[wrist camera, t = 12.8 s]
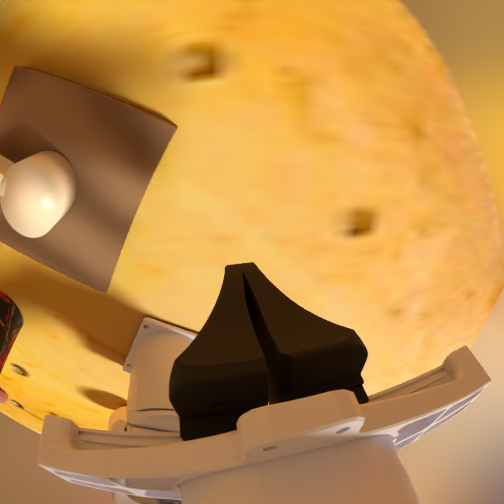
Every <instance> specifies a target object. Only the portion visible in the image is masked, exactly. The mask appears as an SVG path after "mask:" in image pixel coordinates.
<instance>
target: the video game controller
mask: <svg viewBox="0 0 504 504" xmlns="http://www.w3.org/2000/svg"><path fill="white" fill-rule="evenodd" d="M7 399H8V396H7V394H6V393H5V392H4V391H2V390H0V403H5V402H6V401H7Z"/></svg>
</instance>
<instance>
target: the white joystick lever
mask: <svg viewBox="0 0 504 504" xmlns="http://www.w3.org/2000/svg"><path fill="white" fill-rule="evenodd" d="M76 190H77V185H76V178H75V174H74V171H73V169H72V167H71V165H70V164H69V162H68V161H67V160H66V159H65V158H64V157H63V156H62V155H60V154H59V153H57V152H54V151H41V152H39V153H36V154H34V155H32V156H30V157H28V158H26V159H23V160H21V161H19V162H17V163H13V162H12V161H10V160H8V159H7V158H5V157H4V156H2V155H0V204H1V208H2V211H3V214H4V216H5V218H6V220H7V221H8V223H9V224H10V225H11V227H12V228H13V229H14V230H15V231H17V232H18V233H20V234H21V235H23V236H26V237H30V238H37V237H41V236H43V235H45V234H46V233H47V232H49V231H50V229H51V228H52V227H53V226H54V225H55V224H56V223H57V222H58V221H59V220H60V219H61V218H62V217H63V216H64V215H65V214H66V213H67V212H68V211H69V209H70V208H71V206H72V205H73V203H74V200H75V197H76Z"/></svg>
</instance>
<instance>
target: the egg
mask: <svg viewBox="0 0 504 504" xmlns="http://www.w3.org/2000/svg"><path fill="white" fill-rule="evenodd" d="M126 409H127V406H123V407H120V408H118V409H116V410H115V411H114V412H113V413H112V414H111V416H110V419H109V431H111V426H112V424H113V423H115V422H117V420H118V419H121V420H124V421H125V424H126V419H127V417H126Z"/></svg>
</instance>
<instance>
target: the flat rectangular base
mask: <svg viewBox="0 0 504 504" xmlns="http://www.w3.org/2000/svg"><path fill="white" fill-rule="evenodd" d="M177 127H178V126H176V125H174V124H172V123H170V122H168V121H166V120H163V119H161V118H159V117H157V116H155V115H153V114H150V113H148V112H146V111H144V110H141V109H139V108H137V107H134V106H132V105H130V104H127V103H125V102H123V101H120V100H118V99H115V98H113V97H111V96H108V95H106V94H103V93H100V92H98V91H95V90H93V89H90V88H87V87H85V86H82V85H79V84H77V83H74V82H71V81H68V80H65V79H62V78H59V77H56V76H53V75H50V74H47V73H44V72H41V71H38V70H34V69H31V68H28V67H18V66H15V68H14V70H13V73H12V75H11V78H10V80H9V83H8V86H7V89H6V91H5V94H4V97H3V100H2V103H1V107H0V155H2V156H4V157H5V158H7V159H8V160H10V161H12V162H13V163H17V162H19V161H21V160H23V159H26V158H28V157H30V156H32V155H34V154H36V153H39V152H41V151H54V152H57V153H59V154H60V155H62V156H63V157H64V158H65V159H66V160H67V161H68V162H69V164H70V165H71V167H72V169H73V171H74V174H75V178H76V185H77V190H76V197H75V200H74V203H73V205H72V206H71V208H70V209H69V211H68V212H67V213H66V214H65V215H64V216H63V217H62V218H61V219H60V220H59V221H58V222H57V223H56V224H55V225H54V226H53V227H52V228H51V229H50V231H49V232H47V233H46V234H45V235H43V236H41V237H37V238H30V237H26V236H23V235H21V234H20V233H18V232H17V231H15V230H14V229H13V228H12V227H11V225H10V224H9V223H8V221H7V220H6V218H5V216H4V214H3V211H2V208H1V204H0V241H1V242H2V243H4V244H6V245H8V246H9V247H11V248H13V249H15V250H17V251H18V252H20V253H22V254H24V255H26V256H28V257H30V258H32V259H34V260H35V261H37V262H39V263H41V264H43V265H45V266H47V267H49V268H51V269H53V270H55V271H58V272H60V273H62V274H64V275H66V276H68V277H70V278H72V279H74V280H77V281H79V282H81V283H83V284H86V285H88V286H90V287H92V288H95V289H97V290H99V291H102V292H104V293H106V292H107V290H108V287H109V285H110V282H111V279H112V276H113V273H114V270H115V267H116V264H117V261H118V258H119V256H120V253H121V250H122V247H123V245H124V242H125V239H126V237H127V234H128V232H129V229H130V227H131V224H132V222H133V219H134V217H135V214H136V212H137V210H138V207H139V205H140V203H141V200H142V198H143V196H144V194H145V191H146V189H147V187H148V185H149V183H150V180H151V178H152V176H153V174H154V172H155V170H156V168H157V166H158V164H159V162H160V160H161V158H162V156H163V154H164V152H165V150H166V148H167V146H168V144H169V142H170V140H171V138H172V137H173V135H174V133H175V131H176V129H177Z"/></svg>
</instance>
